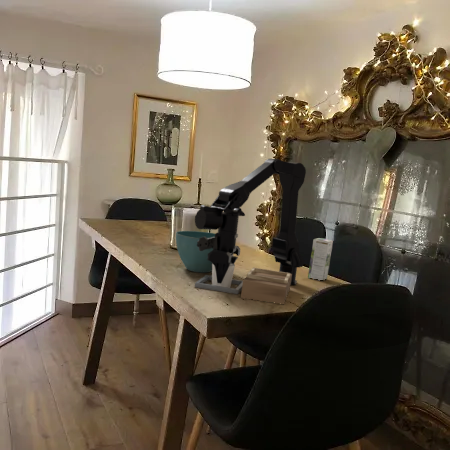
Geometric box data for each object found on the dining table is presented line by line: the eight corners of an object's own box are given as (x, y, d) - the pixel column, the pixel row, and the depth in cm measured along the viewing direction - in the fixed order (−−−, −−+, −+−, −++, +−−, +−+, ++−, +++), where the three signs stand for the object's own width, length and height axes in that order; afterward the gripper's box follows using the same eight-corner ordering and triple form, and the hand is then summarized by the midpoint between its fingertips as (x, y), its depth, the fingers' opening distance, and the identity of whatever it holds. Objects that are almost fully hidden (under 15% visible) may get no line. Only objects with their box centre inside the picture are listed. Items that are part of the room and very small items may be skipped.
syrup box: (312, 276, 179) (317, 237, 177) (327, 279, 176) (333, 240, 175) (307, 278, 174) (312, 238, 172) (323, 281, 171) (329, 241, 170)
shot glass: (234, 289, 144) (237, 266, 143) (212, 288, 142) (215, 265, 142) (229, 283, 151) (231, 261, 150) (207, 282, 149) (210, 260, 148)
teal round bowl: (177, 274, 155) (181, 236, 154) (168, 262, 173) (171, 228, 171) (231, 277, 160) (235, 241, 159) (217, 265, 178) (221, 232, 177)
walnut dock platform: (252, 283, 155) (254, 265, 154) (289, 289, 152) (292, 271, 152) (240, 297, 135) (243, 276, 135) (283, 304, 133) (286, 283, 132)
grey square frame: (205, 278, 154) (206, 274, 154) (245, 285, 152) (246, 281, 152) (194, 286, 142) (194, 282, 141) (238, 294, 139) (238, 290, 139)
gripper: (209, 224, 156) (203, 271, 157) (193, 229, 137) (187, 282, 139) (243, 228, 153) (237, 277, 155) (231, 234, 135) (225, 289, 137)
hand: (221, 281), depth 146 cm, fingers closed on shot glass, 6 cm apart
